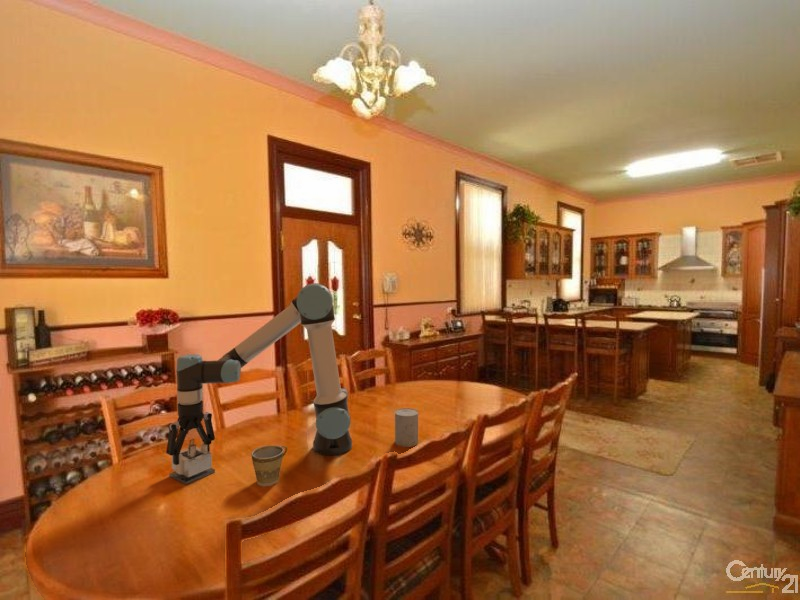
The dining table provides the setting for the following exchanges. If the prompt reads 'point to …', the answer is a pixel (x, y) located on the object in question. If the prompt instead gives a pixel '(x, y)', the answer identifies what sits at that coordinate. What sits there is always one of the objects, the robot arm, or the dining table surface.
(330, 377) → the robot arm
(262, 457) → the ceramic cup
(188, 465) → the grey block with hole
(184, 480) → the keeper
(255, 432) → the dining table surface
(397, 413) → the gray cylinder
